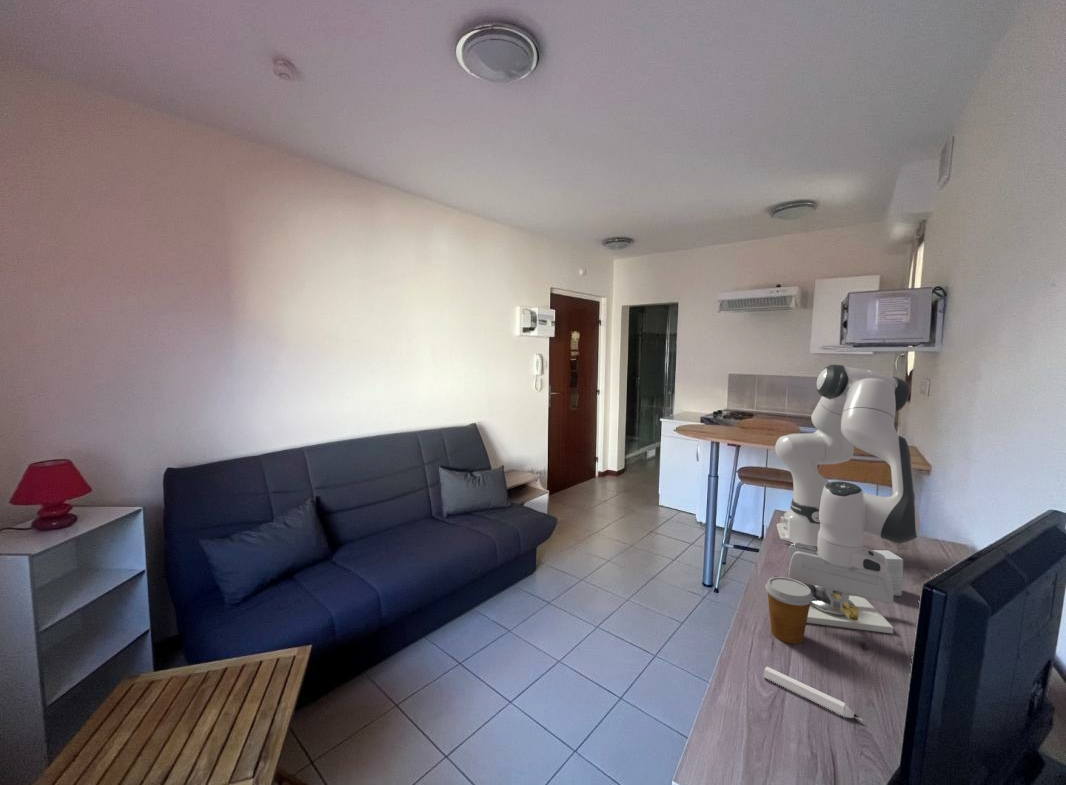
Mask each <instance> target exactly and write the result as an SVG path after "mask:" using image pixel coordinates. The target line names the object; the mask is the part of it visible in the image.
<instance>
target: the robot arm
mask: <svg viewBox="0 0 1066 785" xmlns="http://www.w3.org/2000/svg"><path fill="white" fill-rule="evenodd" d="M816 391H817V393H818V395H820V396H821V397H820V399H819V401H818V402H817V404H816V405H815V408H814V410H813V411H812V413H811V416H810V417H811V418H810V419H811V422H812V424H813V426H814V427H815V428H816V430H815V431H814V432H810V433H805V432H803V433H789V434H786V435H781V436H779V437H778V439H777V440H776V443H775V445H774V451H775V454H776V456H777V458H778V459H779V461H780V462H782V463H783V464H784V465H785V466H786V467H787V468H788V469H789V471H790V474H791V476H792V482H793V483H792V484H793V486H792V488H793V494H792V495H793V498H792V500H791V502H790V509H788V510H787V511H786V512H784V514H783V516H782V515H781V516H780V518H779V519H780V520H779V521H780V522H778V523H776V528H777V531H778V532H777V533H778V535H779V538H780V539H781V540H782V541H785V542H790V543H791V544H790V545H789V546H788V548H787V551H788V552H787V553H788V554H787V555H788V556H789V557H788V558H790V562H789V566H788V567H789V568H788V576H789V578H791V579H794V580H797V581H799V582H804V583H807V584H811V585H815V586H819V587H823V588H826V594H827V595H828V597H829V599H830V600H831V605H830V607H833V608H837V609H841V610H843V604H844V603H845V602H846V601H847V600H848V599H849V594H850V595H854V596H858V597H861V598H865V599H866V600H870V601H874V602H878V603H881V604H884V605H890V604H891V603H893V602H894V595H893V587H892V581H891V577H890V574H889V571H888V570H887V568H888V564H887V560H886V558H885V557H884V556H883V555H882V554H880V553H878V552H875V551H873V550H874V549H871V548H869V547H868V546H867V547H866V546H864V538H863V534H864V535H870V536H874V537H878V538H881V539H884V540H887V541H888V542H893V543H895V544H900V545H901V544H904V543H907V542H910V541H913V540H915V539H917V538H918V535H919V533H920V531H921V518H920V514H919V510H918V508H917V507H918V506H917V504H916V495H915V487H914V486H915V485H914V476H913V468H912V460H911V458H912V457H911V451H910V447H909V443H908V442H907V439H906V438H904V437H903V436H901V435H899V434H898V432H897V430H896V427H895V419H896V412H899V411H901V410H902V409H903V408H904V407H905V406H906V404H907V402H908V400H909V397H910V394H911V388H910V386H909V383H908V382H907V381H905V380H903V379H901V378H900V377H896V376H890V375H887V374H884V373H880V372H877V371H874V370H870V369H864V368H863V369H862V368H858V367H857V368H856V367H850V366H844V365H843V364H842V365H841V364H829V365H827V366H826V367H824V368H823V369H822V370H821V371H820V373H819V374H818V376H817V379H816ZM854 448H857V449H859V450H861V451H863V452H865V453H868V454H870V455H873V456H875V457H877V458H879V459H881V460H882V461H885V463H887V464H888V465H889V466H890V473H891V476H890V477H891V485H892V486H891V487H892V495H890V496H880V495H876V494H870V493H866V492H864V491H863V489H862V488H861V486H858V485H856V484H854V483H852V482H847V481H841V480H840V481H831V482H830V481H829V480H828V479H827V478H826V477H824V476H822V475H820V473H819V469H818V465H821V466H822V465H837V464H842V463H846V462H848V461H850V460H851V459H852V457H853V456H854V454H855V449H854ZM833 590H834V591H838V592H842V597H841V598H840V599H837V598H834V596H833V595H832V594H833Z"/></svg>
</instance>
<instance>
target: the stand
mask: <svg viewBox="0 0 1066 785" xmlns="http://www.w3.org/2000/svg"><path fill="white" fill-rule="evenodd" d="M849 600H850V601H851V602H853V604H854V605H855V606H856V607H858V608H859V615H858V620H851V619H849V618H848V617H847V616H839V615H834V614H830V613H826V612H824V611H821V610H819V609H817V608H815V607H814V606H812V605H811V604H810V607H809V612H808V617H807V622H806V624H813V625H821V626H830V627H837V628H847V629H854V630H855V629H856V630H862V631H869V632H871V631H872V632H877V633H883V634H885V633H886V634H894V626H892V625H891V623H890V622H889V621H888V620H887V619H886V618H885V617H884V616H883V615H882V614H881V613H880V612H879V611H878V610H877V609H876V607H874V606H873V605H872V604H871V603H870V602H869V601H868V599H865V598H861V597H858V596H849Z"/></svg>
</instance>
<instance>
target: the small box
mask: <svg viewBox="0 0 1066 785" xmlns="http://www.w3.org/2000/svg"><path fill="white" fill-rule="evenodd" d="M872 550H873V551H875V552H878V553H880V554H882V555H883V556H884V557H885V558H886V560H887V564H888V568H887V570H888V571H889V574H890V577H891V581H892V587H893V596H899V597H901V596H902V592H903V591H902V590H903V572H904V558H901V557H900V556H898V555H897V554H895V553H893V552H892V551H890V550H887V549H885V550H883V549H882V550H881V549H879V550H878V549H872Z"/></svg>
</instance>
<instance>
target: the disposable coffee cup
mask: <svg viewBox="0 0 1066 785" xmlns="http://www.w3.org/2000/svg"><path fill="white" fill-rule="evenodd" d="M766 582H767V583H765V586H764V587H765V590H766V592H767V600H768V610H769V618H770V628H771V633H772V634H771V635H773V636H774V637H775V638H776V639H777V640H779V641H782V642H783V643H786V644H793V645H798V644H801V643H802V642H804V641H803V640H804V635H805V631H806V625H807V623H806V622H807V617H808V612H809V607H810V603H811V601H812V600H813V595H812V594H811V590H810V588H809V587H808V586H806V585H805V584H803V583H802V582H800V581H797V580H794V579H791V578H790V577H785V576H779V577H774V576H773V577H770V578H769V579H767V581H766Z"/></svg>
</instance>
